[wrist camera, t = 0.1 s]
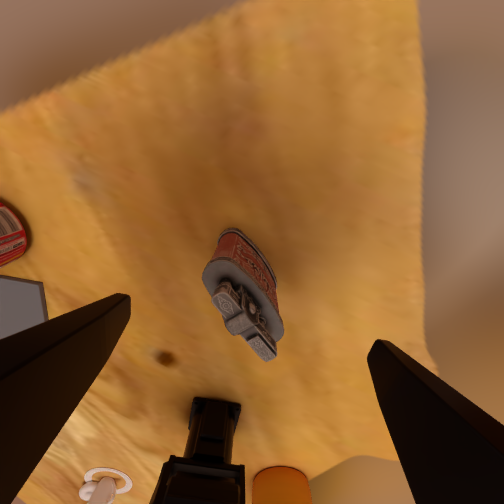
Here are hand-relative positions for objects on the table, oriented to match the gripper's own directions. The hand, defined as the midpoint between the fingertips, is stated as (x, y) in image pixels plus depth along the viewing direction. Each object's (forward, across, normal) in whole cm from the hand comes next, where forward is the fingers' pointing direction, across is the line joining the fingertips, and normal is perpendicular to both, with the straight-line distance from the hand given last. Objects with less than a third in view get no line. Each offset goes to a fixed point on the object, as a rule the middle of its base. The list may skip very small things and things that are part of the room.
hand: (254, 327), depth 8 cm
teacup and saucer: (+15, +18, +48) cm, 54 cm away
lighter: (+15, 0, +4) cm, 15 cm away
